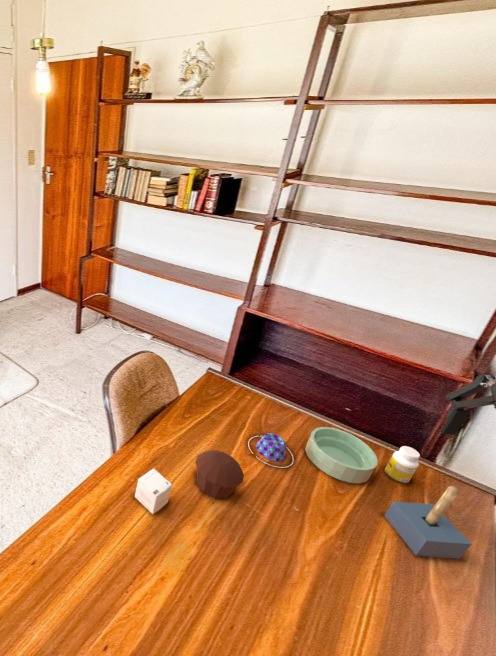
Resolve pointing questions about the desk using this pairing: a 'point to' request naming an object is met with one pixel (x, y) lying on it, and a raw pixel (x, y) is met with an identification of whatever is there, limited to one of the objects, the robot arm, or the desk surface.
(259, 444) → the checkered ringed planet
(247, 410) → the desk surface
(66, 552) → the desk surface
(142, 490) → the product carton
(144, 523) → the desk surface
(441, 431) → the robot arm
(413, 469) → the supplement bottle
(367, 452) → the bowl
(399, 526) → the block
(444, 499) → the stick
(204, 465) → the muffin
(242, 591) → the desk surface
